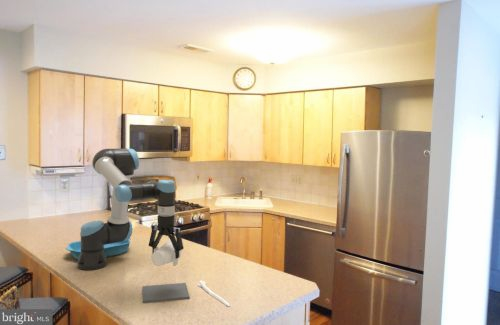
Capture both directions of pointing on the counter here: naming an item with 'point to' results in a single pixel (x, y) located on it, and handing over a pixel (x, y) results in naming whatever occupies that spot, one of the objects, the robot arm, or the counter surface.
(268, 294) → the counter surface
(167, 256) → the foam cup
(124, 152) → the robot arm
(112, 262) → the counter surface
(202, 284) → the white long knobbed rod
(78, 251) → the casserole dish
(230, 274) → the counter surface
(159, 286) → the mat
